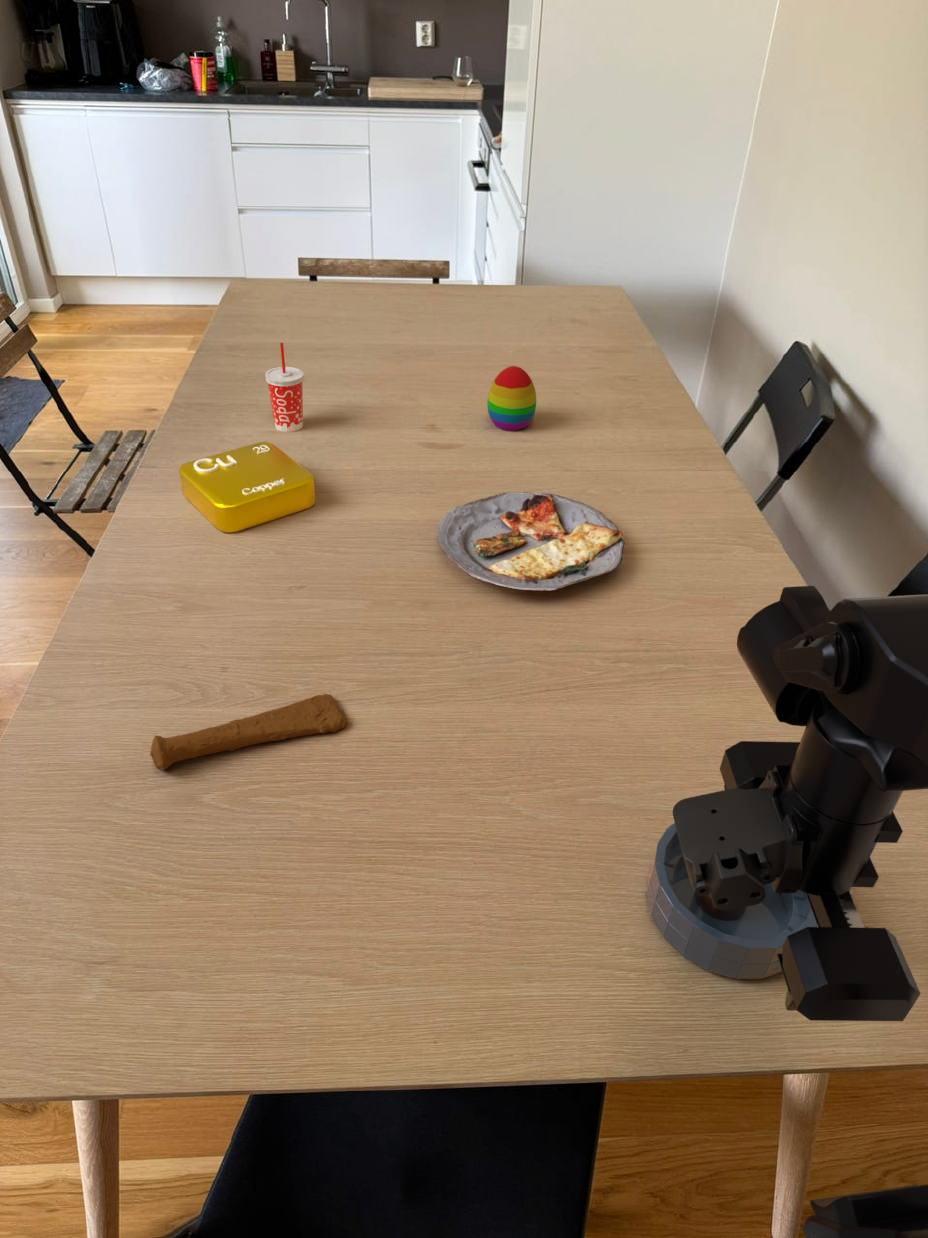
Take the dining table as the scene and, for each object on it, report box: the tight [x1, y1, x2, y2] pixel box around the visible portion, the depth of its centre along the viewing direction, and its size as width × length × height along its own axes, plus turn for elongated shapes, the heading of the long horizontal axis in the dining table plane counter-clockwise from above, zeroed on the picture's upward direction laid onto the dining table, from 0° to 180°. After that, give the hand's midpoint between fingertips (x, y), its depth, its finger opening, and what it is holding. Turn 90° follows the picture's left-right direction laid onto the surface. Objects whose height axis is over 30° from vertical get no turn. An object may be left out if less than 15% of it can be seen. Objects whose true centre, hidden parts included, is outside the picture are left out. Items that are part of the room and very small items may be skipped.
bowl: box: [645, 822, 817, 980], centre depth 75 cm, size 14×14×5 cm
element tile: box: [178, 441, 316, 534], centre depth 127 cm, size 15×15×5 cm
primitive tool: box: [149, 693, 348, 772], centre depth 89 cm, size 19×6×4 cm, turn 119°
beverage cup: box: [264, 342, 305, 433], centre depth 143 cm, size 6×6×14 cm
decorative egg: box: [486, 365, 537, 431], centre depth 148 cm, size 8×8×10 cm
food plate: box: [436, 491, 626, 592], centre depth 119 cm, size 25×23×4 cm
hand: (772, 942), depth 60 cm, fingers open, 9 cm apart
